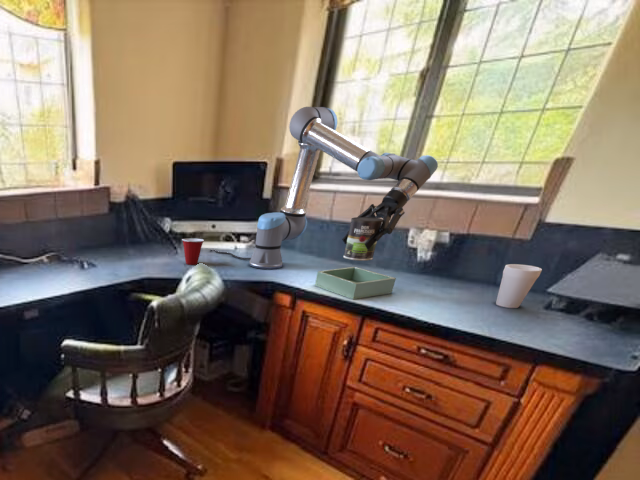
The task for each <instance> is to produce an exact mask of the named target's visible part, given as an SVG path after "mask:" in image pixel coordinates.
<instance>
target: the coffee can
mask: <svg viewBox="0 0 640 480" xmlns="http://www.w3.org/2000/svg"><path fill="white" fill-rule="evenodd" d="M382 221H383V218H372V217H358V216H355V217H352V218H351V219H350V226H349V230H348V231H349V234H348V239H347V243H346V244H345V248H344V253H343V256H342V257H343V259H346V260H349V261H350V260H351V261H360V262H363V261H364V262H367V261H372V260H374V255H375V251H376V247H377V243H378V241H376V242H375V243H374V244H373V245H372V246H371V247H370V249H367V248H366V246H365V243H366V242H367V241H368V239H369V238H370V237H371V236H372V235H373V234H374V233H375V232H376V231H377V230H379V231H380V229H379V228H381V225H382Z"/></svg>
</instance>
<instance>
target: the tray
mask: <svg viewBox="0 0 640 480" xmlns="http://www.w3.org/2000/svg"><path fill="white" fill-rule="evenodd" d="M396 280H397V277H393V276H390V275H386V274H382V273H379V272H375V271H372V270H368V269H365V268H362V267H356V266H349V267H341V268H335V269H326V270H318V271H317V273H316V277H315V282H314V283H315V284H314V286H315V287H318V288H320V289H323V290H326V291H328V292H331V293H334V294H337V295H340V296H343V297H345V298H348V299H351V300H357V299H363V298H370V297H375V296H382V295H388V294H392V293H393V290H394V287H395V283H396Z"/></svg>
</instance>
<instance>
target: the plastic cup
mask: <svg viewBox="0 0 640 480" xmlns="http://www.w3.org/2000/svg"><path fill="white" fill-rule="evenodd" d="M181 241H182V246H183V250H184V251H183V253H184V260H185V264H186V265H190V266H196V265H198V263H199V259H200V256H201V250H202V246H203V243H204V241H205V239H203V238H192V237H191V238H190V237H189V238H181Z"/></svg>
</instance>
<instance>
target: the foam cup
mask: <svg viewBox="0 0 640 480" xmlns="http://www.w3.org/2000/svg"><path fill="white" fill-rule="evenodd" d="M542 271H543V269H542V268H541V267H539V266H535V265H528V264H517V263H510V264H505V266H504V269H503V271H502V276H501V280H500V285H499V288H498V292H497V296H496V302H495V305H497V306H499V307H502V308H509V309H517V308H519V307H520V306H521V304H522V303H523V302H524V299H525V298H526V297H527V296H528V293H529V292H530V291H531V289H532V288H533V286H534V284H535V282H536V281H537V279H538V278H539V277H540V275H541V273H542Z"/></svg>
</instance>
